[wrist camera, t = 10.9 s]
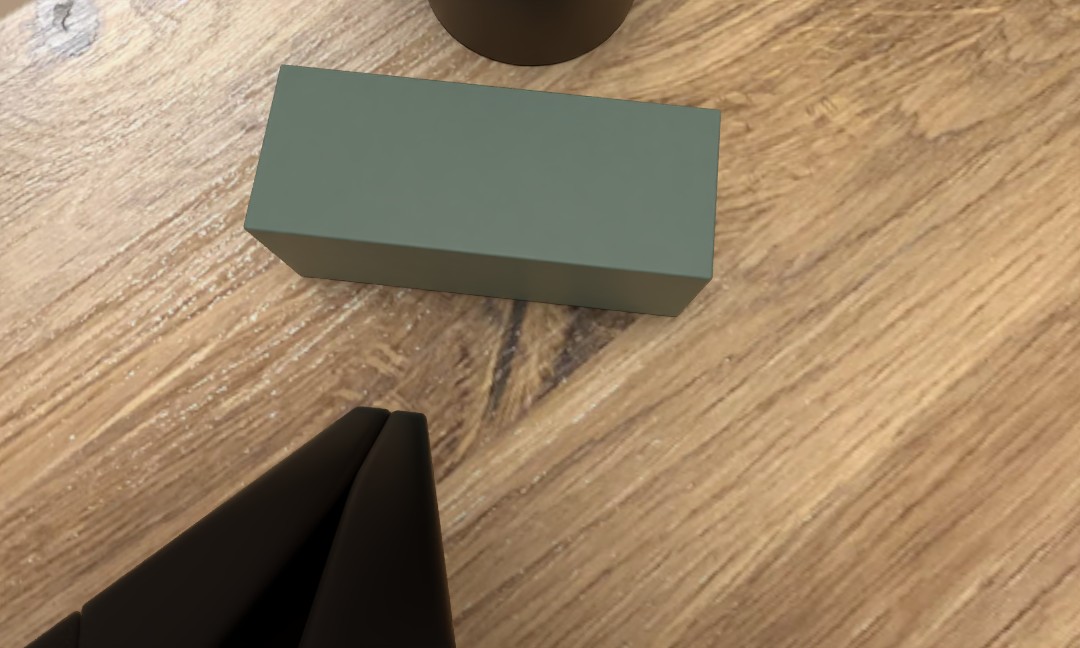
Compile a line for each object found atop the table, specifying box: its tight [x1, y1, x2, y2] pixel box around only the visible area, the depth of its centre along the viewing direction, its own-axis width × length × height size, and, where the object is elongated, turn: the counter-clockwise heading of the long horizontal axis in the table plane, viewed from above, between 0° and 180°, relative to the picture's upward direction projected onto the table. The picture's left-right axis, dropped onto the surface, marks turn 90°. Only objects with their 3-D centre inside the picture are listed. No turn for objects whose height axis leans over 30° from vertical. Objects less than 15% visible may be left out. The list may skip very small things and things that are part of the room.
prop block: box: [244, 65, 721, 317], centre depth 15 cm, size 4×10×3 cm, turn 84°
